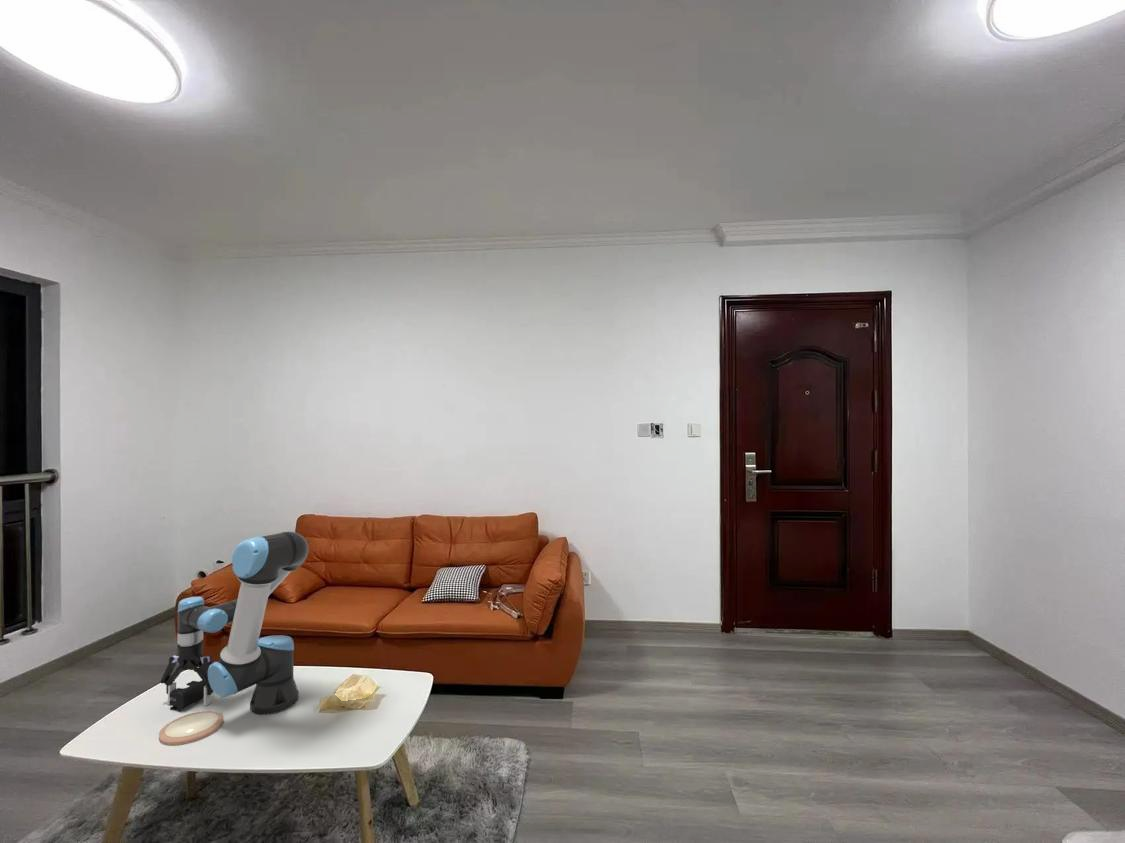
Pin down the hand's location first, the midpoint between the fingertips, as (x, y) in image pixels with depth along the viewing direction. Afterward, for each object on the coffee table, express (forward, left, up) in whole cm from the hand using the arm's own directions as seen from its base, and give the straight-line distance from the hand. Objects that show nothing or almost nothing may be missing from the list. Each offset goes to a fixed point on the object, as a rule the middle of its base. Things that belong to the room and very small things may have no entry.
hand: (189, 703), depth 183 cm
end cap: (0, 0, -1) cm, 1 cm away
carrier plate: (-13, +15, 0) cm, 20 cm away
